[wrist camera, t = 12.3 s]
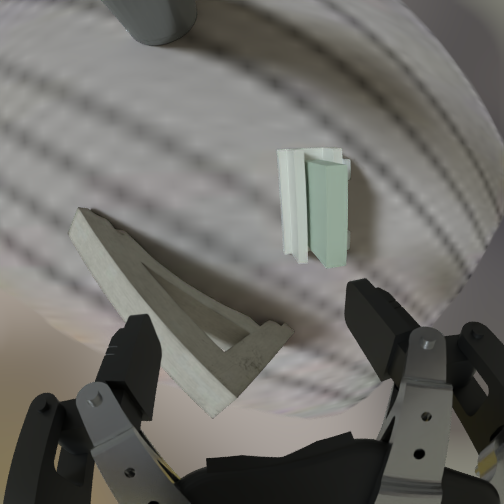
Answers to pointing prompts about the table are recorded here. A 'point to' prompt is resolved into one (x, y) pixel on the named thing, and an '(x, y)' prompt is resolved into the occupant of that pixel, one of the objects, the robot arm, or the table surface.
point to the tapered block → (327, 211)
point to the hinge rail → (300, 195)
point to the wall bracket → (178, 316)
